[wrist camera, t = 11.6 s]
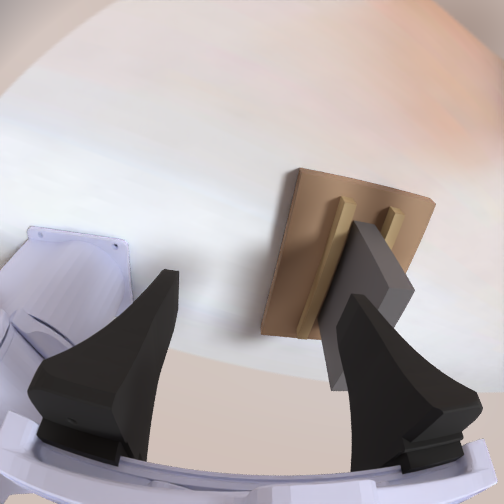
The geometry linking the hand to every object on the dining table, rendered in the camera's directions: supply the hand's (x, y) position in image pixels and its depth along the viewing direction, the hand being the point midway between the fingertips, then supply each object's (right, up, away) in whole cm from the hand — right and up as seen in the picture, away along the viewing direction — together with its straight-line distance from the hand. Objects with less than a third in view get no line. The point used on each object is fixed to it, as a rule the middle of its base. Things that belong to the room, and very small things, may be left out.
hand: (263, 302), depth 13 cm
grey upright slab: (+6, 0, +10) cm, 12 cm away
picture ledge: (+6, +1, +11) cm, 12 cm away
